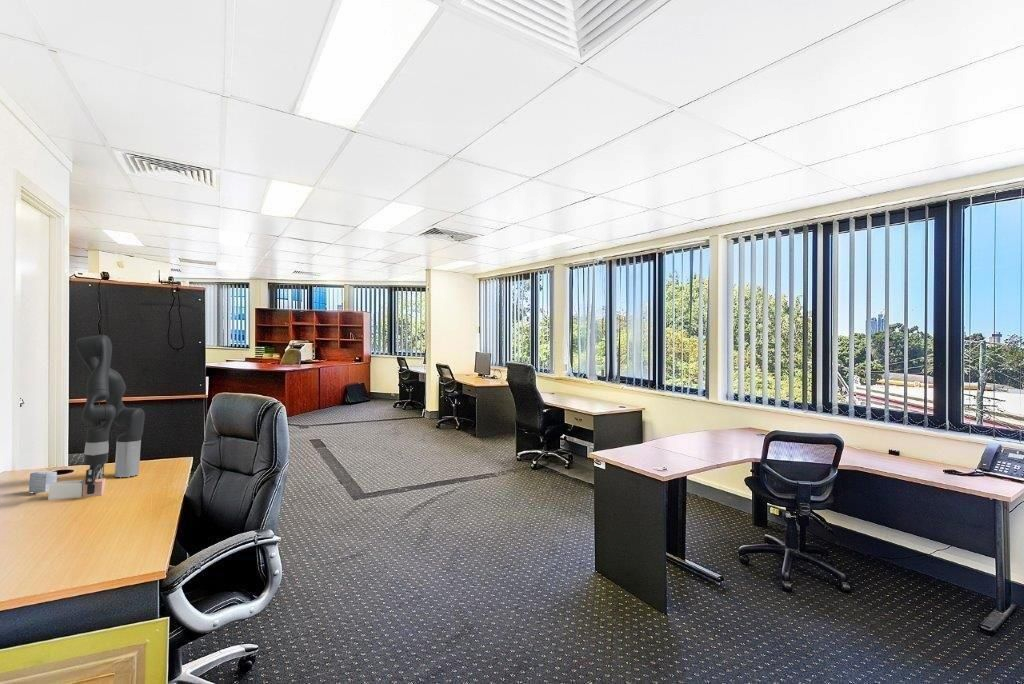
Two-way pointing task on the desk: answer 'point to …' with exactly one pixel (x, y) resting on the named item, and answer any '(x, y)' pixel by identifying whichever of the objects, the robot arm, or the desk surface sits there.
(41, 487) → the medicine box
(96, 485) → the pink cube block
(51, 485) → the ticket block
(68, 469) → the desk surface
